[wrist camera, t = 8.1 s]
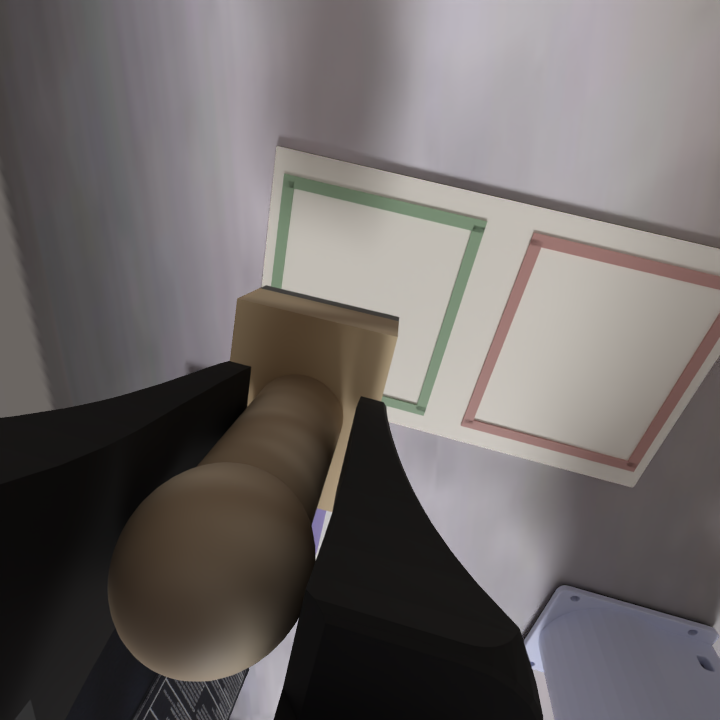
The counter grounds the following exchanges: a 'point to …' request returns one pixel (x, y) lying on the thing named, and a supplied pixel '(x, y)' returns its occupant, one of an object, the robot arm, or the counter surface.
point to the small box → (149, 691)
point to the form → (505, 311)
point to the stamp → (250, 493)
